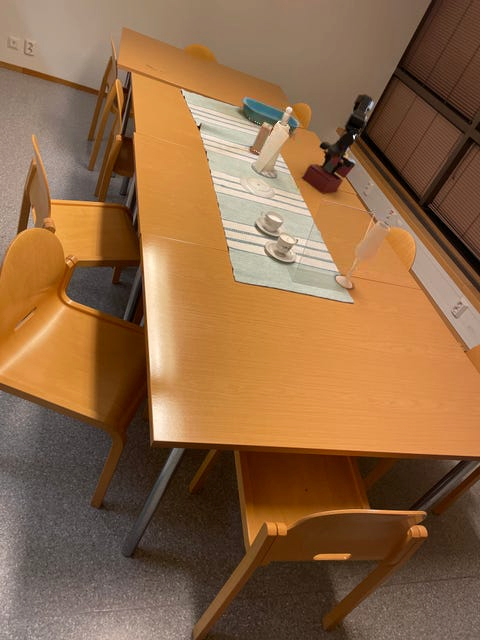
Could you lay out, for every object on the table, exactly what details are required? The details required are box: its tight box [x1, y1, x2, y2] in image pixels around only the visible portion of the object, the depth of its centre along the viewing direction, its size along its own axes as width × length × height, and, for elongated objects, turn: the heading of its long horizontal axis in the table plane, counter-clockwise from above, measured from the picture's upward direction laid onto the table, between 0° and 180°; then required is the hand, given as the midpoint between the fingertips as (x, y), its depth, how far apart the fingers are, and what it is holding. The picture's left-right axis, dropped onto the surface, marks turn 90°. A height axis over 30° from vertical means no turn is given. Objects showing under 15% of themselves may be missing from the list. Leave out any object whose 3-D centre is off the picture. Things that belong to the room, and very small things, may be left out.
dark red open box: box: [302, 163, 344, 194], centre depth 232 cm, size 15×13×7 cm
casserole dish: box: [241, 97, 300, 135], centre depth 273 cm, size 37×22×7 cm, turn 103°
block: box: [323, 161, 336, 175], centre depth 230 cm, size 4×4×4 cm
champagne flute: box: [335, 221, 391, 289], centre depth 160 cm, size 7×7×24 cm
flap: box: [330, 156, 353, 179], centre depth 234 cm, size 7×13×1 cm
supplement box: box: [250, 122, 273, 155], centre depth 227 cm, size 8×5×13 cm, turn 168°
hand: (328, 170), depth 230 cm, fingers open, 5 cm apart
